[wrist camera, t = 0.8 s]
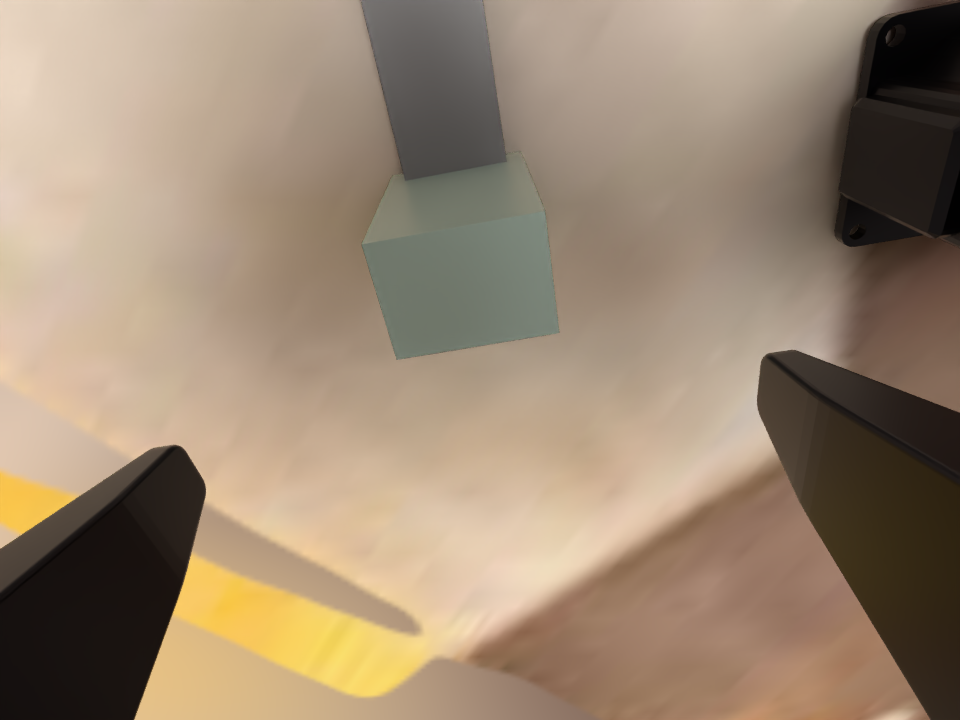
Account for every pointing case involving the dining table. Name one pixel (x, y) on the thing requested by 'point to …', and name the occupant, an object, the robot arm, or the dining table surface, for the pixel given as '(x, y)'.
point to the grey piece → (452, 191)
